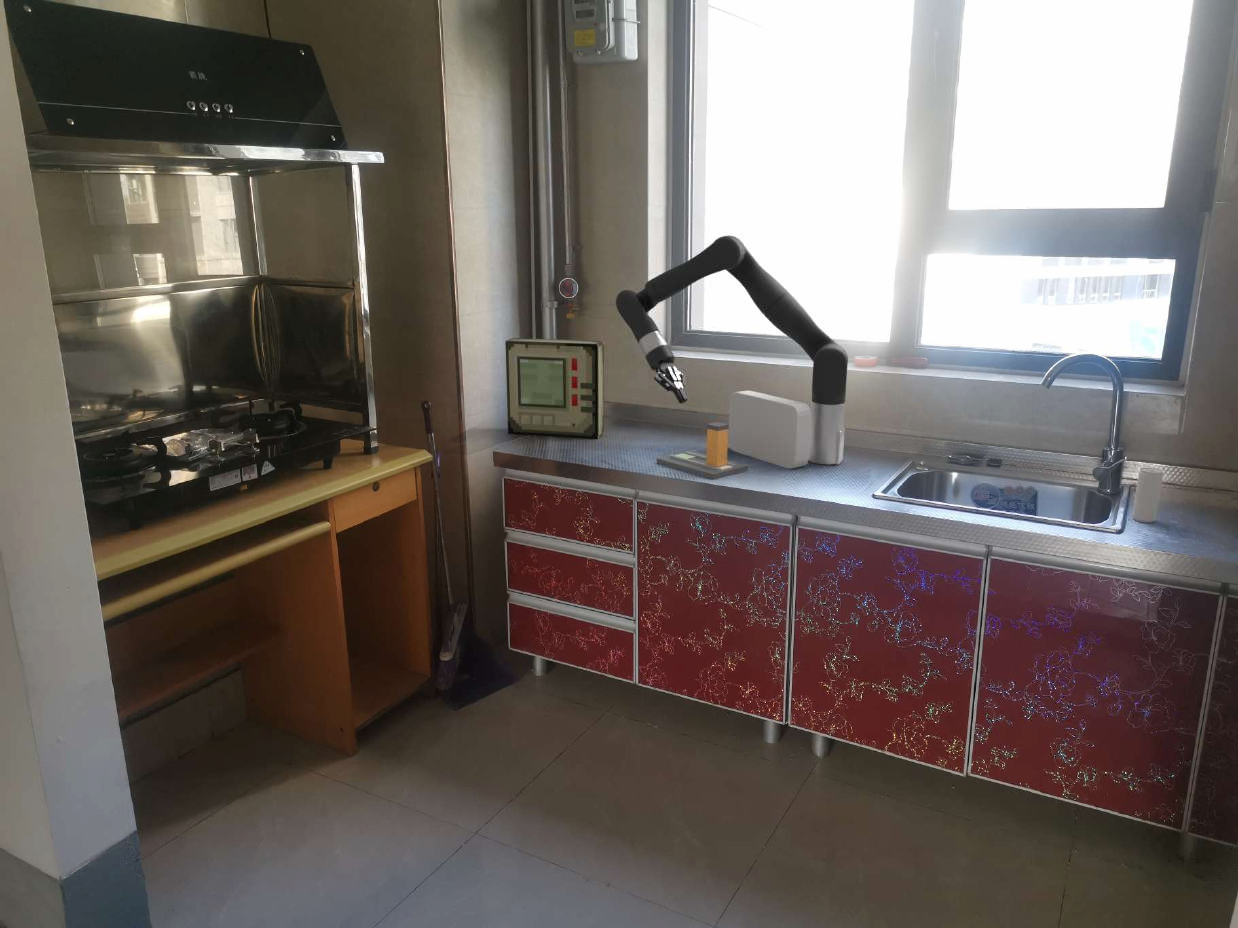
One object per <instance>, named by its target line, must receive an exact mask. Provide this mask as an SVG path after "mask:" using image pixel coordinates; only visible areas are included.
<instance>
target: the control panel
mask: <svg viewBox="0 0 1238 928" xmlns="http://www.w3.org/2000/svg"><path fill="white" fill-rule="evenodd" d="M505 368H506V369H505V370H506V371H505V372H506V375H505V376H506V378H505V379H506V403H507V404H506V405H507V407H506V408H507V435H516V436H517V435H520V436H534V437H535V436H537V437H552V438H569V439H571V438H572V439H583V440H599V439H600V438H601V437H603V436H604V435H605V341H604V340H586V339H585V340H583V339H582V340H581V339H556V338H555V339H550V338H525V337H522V338H521V337H512V338H510V339H507V340H505Z"/></svg>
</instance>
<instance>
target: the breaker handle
mask: <svg viewBox="0 0 1238 928" xmlns="http://www.w3.org/2000/svg"><path fill="white" fill-rule="evenodd" d="M706 430H707V431H706V454H707V455H706V464H709V465H713V466H716V467H718V466H722V465H726V464H727V460H728V448H729V443H728V434H729V423H725V422H720V421H715V422H711V423H706Z"/></svg>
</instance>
